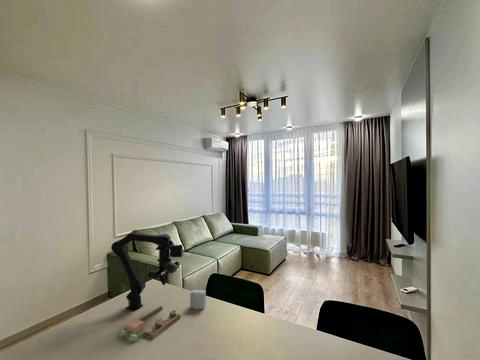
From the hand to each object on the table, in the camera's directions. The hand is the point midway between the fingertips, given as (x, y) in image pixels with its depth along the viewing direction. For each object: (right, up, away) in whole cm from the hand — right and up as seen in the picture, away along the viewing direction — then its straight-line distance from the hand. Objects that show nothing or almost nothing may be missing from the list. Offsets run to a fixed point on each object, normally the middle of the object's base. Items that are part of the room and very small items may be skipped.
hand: (163, 284), depth 129 cm
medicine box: (+20, -12, -1) cm, 23 cm away
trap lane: (+1, -11, -18) cm, 21 cm away
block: (-5, -11, -25) cm, 28 cm away
